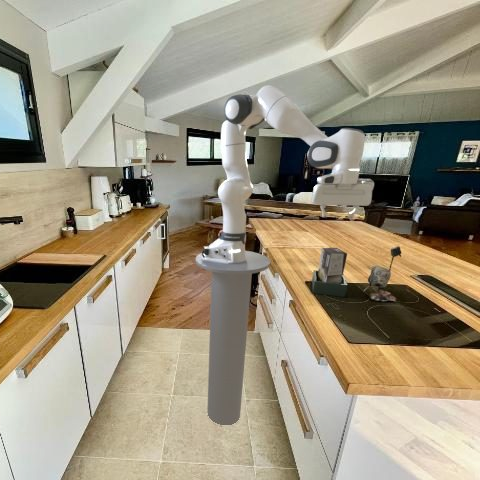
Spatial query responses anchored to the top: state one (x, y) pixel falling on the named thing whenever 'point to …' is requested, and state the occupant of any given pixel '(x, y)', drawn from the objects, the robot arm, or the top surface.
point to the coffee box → (331, 265)
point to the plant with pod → (382, 279)
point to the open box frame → (328, 286)
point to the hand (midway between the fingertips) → (337, 217)
